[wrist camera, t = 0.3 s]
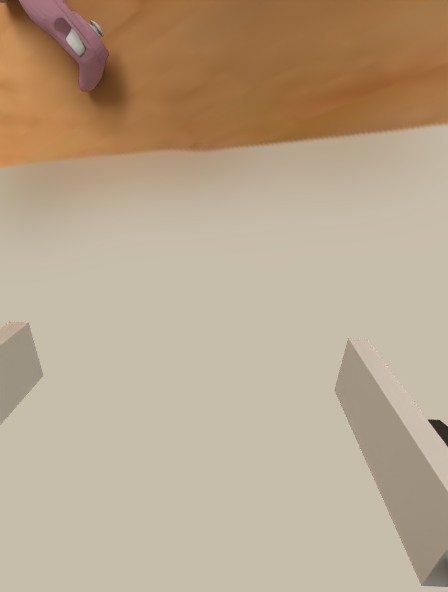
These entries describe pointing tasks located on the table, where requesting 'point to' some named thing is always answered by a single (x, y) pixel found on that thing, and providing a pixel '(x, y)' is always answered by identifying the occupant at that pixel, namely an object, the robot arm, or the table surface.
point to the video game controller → (71, 37)
